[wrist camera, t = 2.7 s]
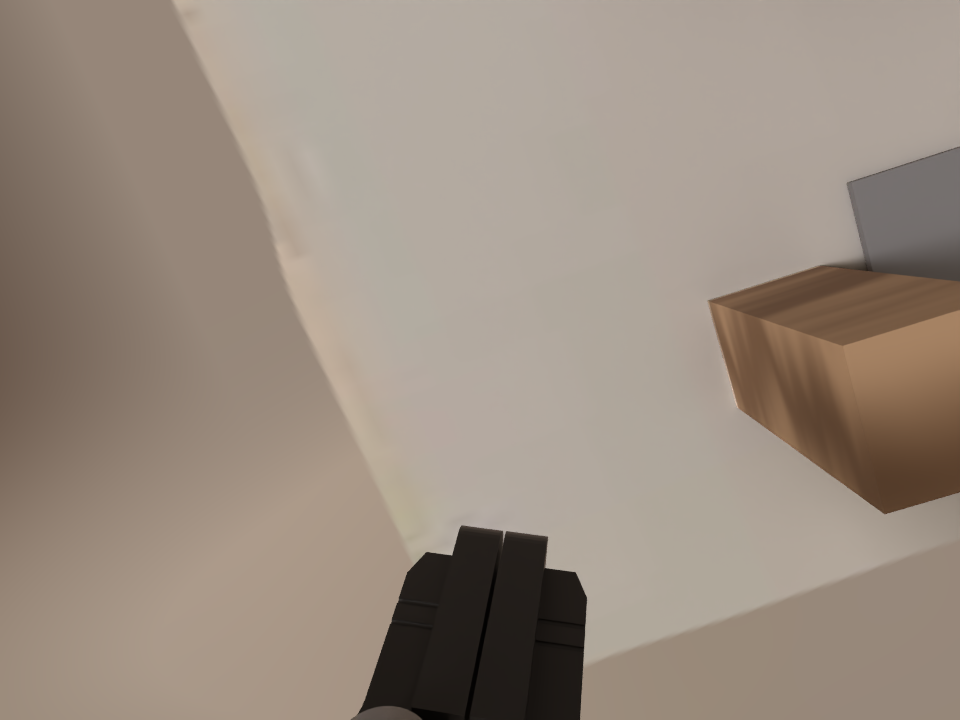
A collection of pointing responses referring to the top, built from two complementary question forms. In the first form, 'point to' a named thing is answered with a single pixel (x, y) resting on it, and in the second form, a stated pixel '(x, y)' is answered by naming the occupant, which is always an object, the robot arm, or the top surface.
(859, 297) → the block
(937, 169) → the mat
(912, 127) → the top surface
